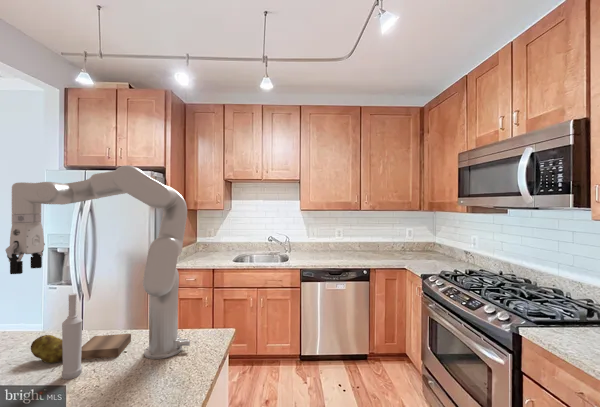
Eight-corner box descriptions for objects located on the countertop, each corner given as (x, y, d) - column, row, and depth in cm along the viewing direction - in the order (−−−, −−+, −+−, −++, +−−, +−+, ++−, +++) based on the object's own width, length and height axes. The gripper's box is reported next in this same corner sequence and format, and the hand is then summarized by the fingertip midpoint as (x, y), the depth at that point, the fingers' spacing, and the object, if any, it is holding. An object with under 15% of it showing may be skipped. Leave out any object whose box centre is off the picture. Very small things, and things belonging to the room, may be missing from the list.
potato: (49, 369, 101) (49, 344, 101) (25, 362, 106) (26, 338, 106) (76, 358, 109) (76, 335, 109) (53, 351, 114) (53, 329, 114)
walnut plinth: (130, 341, 123) (130, 333, 123) (118, 356, 110) (118, 348, 110) (94, 344, 120) (94, 336, 120) (76, 360, 108) (76, 351, 108)
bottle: (68, 371, 100) (69, 292, 101) (85, 370, 101) (86, 291, 101) (57, 380, 95) (58, 296, 95) (75, 379, 95) (76, 296, 96)
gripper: (21, 220, 98) (21, 275, 98) (54, 218, 115) (54, 265, 115) (-7, 220, 96) (-7, 277, 96) (31, 218, 114) (31, 266, 113)
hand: (26, 270), depth 105 cm, fingers open, 9 cm apart
